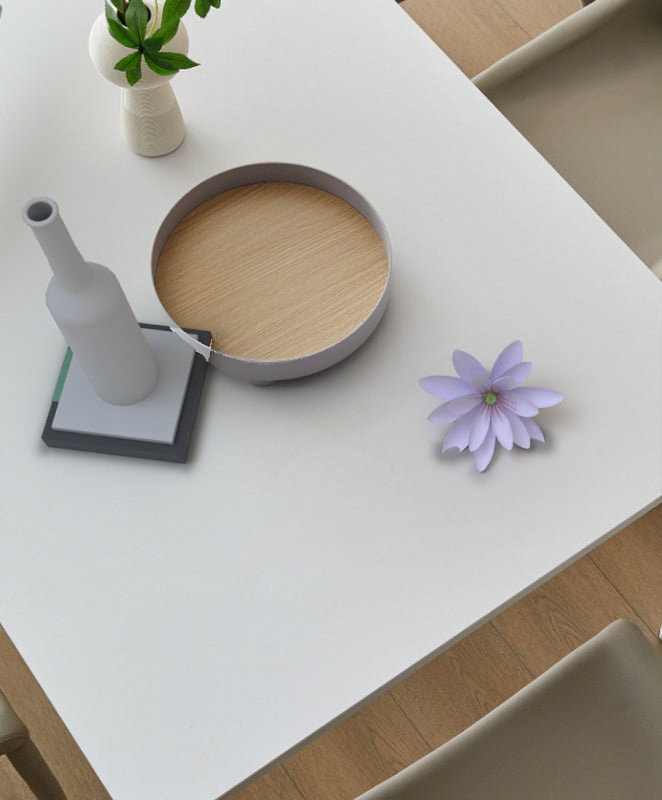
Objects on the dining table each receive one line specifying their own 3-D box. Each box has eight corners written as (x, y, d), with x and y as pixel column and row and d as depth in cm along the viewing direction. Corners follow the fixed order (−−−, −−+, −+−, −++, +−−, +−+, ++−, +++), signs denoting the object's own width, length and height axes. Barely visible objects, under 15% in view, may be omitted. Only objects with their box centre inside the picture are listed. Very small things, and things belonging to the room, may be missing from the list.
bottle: (114, 418, 100) (22, 262, 74) (79, 371, 102) (-22, 203, 77) (171, 380, 102) (100, 216, 76) (136, 335, 104) (55, 160, 78)
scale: (48, 448, 102) (38, 435, 99) (84, 327, 108) (75, 311, 105) (185, 465, 101) (179, 452, 98) (214, 342, 107) (209, 327, 104)
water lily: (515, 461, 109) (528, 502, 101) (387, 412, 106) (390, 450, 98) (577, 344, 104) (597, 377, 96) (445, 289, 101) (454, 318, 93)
